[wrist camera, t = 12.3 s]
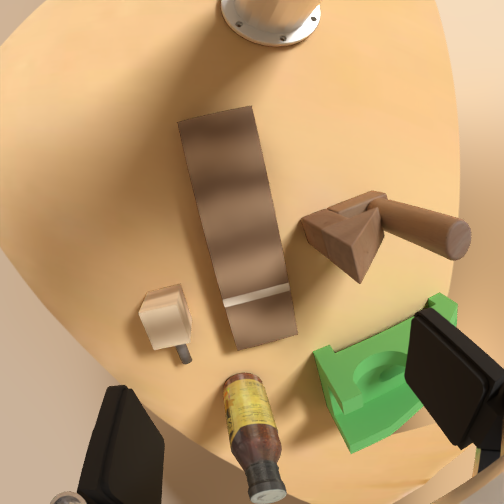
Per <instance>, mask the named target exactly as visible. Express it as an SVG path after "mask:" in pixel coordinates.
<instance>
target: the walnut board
mask: <svg viewBox="0 0 504 504" xmlns="http://www.w3.org/2000/svg"><path fill="white" fill-rule="evenodd" d="M177 123H178V127H179V132H180V136H181V140H182V145H183V149H184V153H185V158H186V162H187V166H188V170H189V174H190V179H191V183H192V187H193V191H194V195H195V199H196V203H197V207H198V211H199V215H200V219H201V222H202V226H203V230H204V234H205V238H206V241H207V245H208V249H209V253H210V256H211V260H212V264H213V267H214V271H215V275H216V278H217V282H218V285H219V289H220V292H221V296H222V299H223V303H224V307H225V310H226V313H227V317H228V320H229V323H230V327H231V330H232V333H233V337H234V340H235V343H236V347H237V350H242V349H246V348H250V347H254V346H258V345H262V344H265V343H269V342H273V341H276V340H280V339H284V338H287V337H291V336H294V335H297V334H298V331H297V325H296V319H295V314H294V308H293V303H292V297H291V292H290V286H289V281H288V276H287V271H286V265H285V260H284V255H283V250H282V245H281V240H280V235H279V230H278V225H277V220H276V215H275V210H274V205H273V200H272V196H271V191H270V186H269V181H268V177H267V172H266V167H265V163H264V158H263V154H262V149H261V145H260V140H259V136H258V131H257V127H256V123H255V118H254V114H253V110H252V106H247V107H242V108H237V109H231V110H227V111H222V112H217V113H213V114H208V115H204V116H200V117H196V118H192V119H188V120H184V121H180V122H177Z"/></svg>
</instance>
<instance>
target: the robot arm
mask: <svg viewBox="0 0 504 504" xmlns="http://www.w3.org/2000/svg"><path fill="white" fill-rule="evenodd" d="M321 1H322V0H221V11H222V15H223V17H224V19H225V21H226V23H227V24H228V25H229V26H230V27H231V29H232V30H234V31H235V32H236V33H237V34H238V35H240V36H242V37H243V38H245V39H247V40H249V41H252V42H254V43H257V44H262V45H266V46H275V47H276V46H288V45H293V44H296V43H298V42H301V41H303V40H304V39H306V38H307V37H309V35H310V34H311V33H312V32H313V31H314V30H315V29H316V27H317V26H318V23H319V21H320V14H321V13H320V6H319V4H320V3H321ZM237 26H240V27H237ZM280 39H281V40H283V41H281V40H280ZM404 377H405V381H406V383H407V384H408V386H409V387H410V388H411V390H412V391H413V392H414V394H415V395H416V396H417V398H418V399H419V400H420V401H421V403H422V404H423V405H424V407H425V408H426V409H427V411H428V412H429V413H430V415H431V416H432V417H433V419H434V420H435V421H436V423H437V424H438V426H439V427H440V428H441V430H442V431H443V432H444V434H445V435H446V436H447V438H448V439H449V441H450V442H451V443H452V444H453V445H455V446H456V445H457V446H458V447H459V448H460V450H462V449H464V448H465V447H467V446H468V445H470V444H471V443H474V444H475V446H476V447H477V448H476V456H475V462H474V469H473V475H472V478H471V479H470V480H468V481H467V482H465V483H464V484H462V485H460V486H459V487H458V488H456V489H454V490H453V491H451V492H449V493H448V494H446V495H444V496H443V497H441V498H439V499H438V500H436V501H434V502H432V503H430V504H504V369H503V368H502V367H501V366H500V365H499V364H497V363H496V362H495V361H494V360H493V359H492V358H491V357H490V356H489V355H488V354H486V353H485V352H484V351H483V350H482V349H481V348H479V347H478V346H477V345H476V344H475V343H474V342H473V341H472V340H470V339H469V338H468V337H467V336H466V335H464V334H463V333H462V332H461V331H460V330H459V329H457V328H456V327H455V326H454V325H453V324H452V323H450V322H449V321H448V320H447V319H446V318H444V317H443V316H442V315H441V314H440V313H438V312H437V311H436V310H435V309H433V308H432V307H429V308H426V309H424V310H421V311H419V312H417V313H415V315H414V318H413V319H412V320H411V328H410V337H409V346H408V353H407V360H406V367H405V373H404ZM164 447H165V446H164V439H163V437H162V435H161V434H160V433H159V431H158V429H157V428H156V426H155V425H154V423H153V422H152V420H151V419H150V417H149V416H148V414H147V413H146V411H145V409H144V408H143V406H142V404H141V403H140V401H139V399H138V398H137V396H136V394H135V393H134V391H133V390H132V389H128V387H127V386H125V385H118V386H109V387H108V388H107V390H106V393H105V396H104V399H103V402H102V405H101V408H100V411H99V415H98V418H97V421H96V425H95V428H94V430H93V432H92V436H91V439H90V442H89V446H88V450H87V453H86V457H85V461H84V464H83V468H82V472H81V476H80V480H79V485H78V489H77V493H74V492H70V491H69V492H63V493H60V494H58V495H57V496H55V497H54V498H53V499H52V501H51V502H50V504H161V497H162V477H163V461H164Z"/></svg>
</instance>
